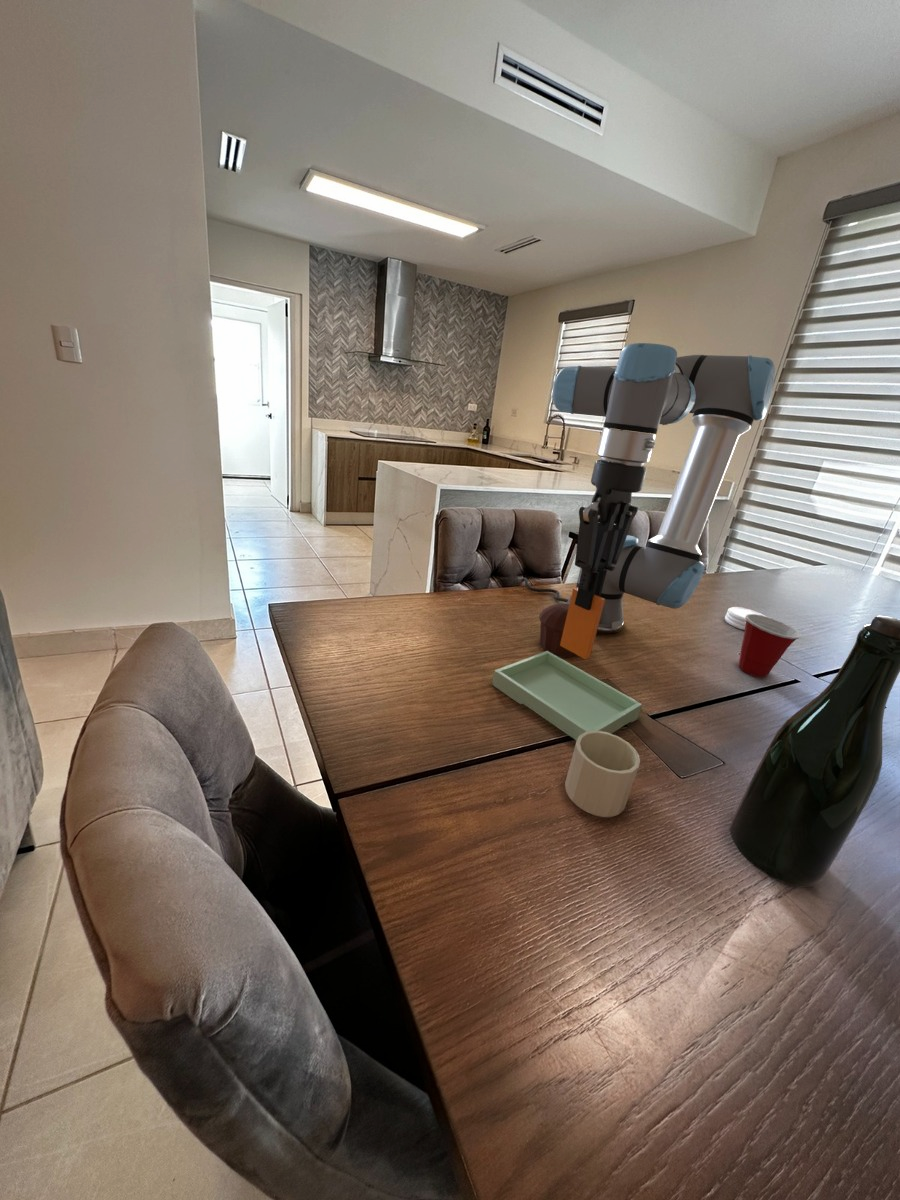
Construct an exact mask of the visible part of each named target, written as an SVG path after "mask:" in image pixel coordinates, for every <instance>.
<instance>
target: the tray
mask: <svg viewBox="0 0 900 1200" xmlns="http://www.w3.org/2000/svg"><path fill="white" fill-rule="evenodd" d="M492 678H493V679H492V681H491V682H492V683H491V686H493V687H495V688H496V689H497V690H499V691H500V692H502V693H503V694H505V695H506V696H508V698H510V699H511V700H513V701H515V702H516V703H518V704H519V705H524V706H526V707H527V708H529V709H530V710H531V711H533V712H534V713H536V714H537V715H539V716H540V717H542V718H543V719H545V720H546V721H547V722H549V723H550V724H552V725H553V726H555V727H557V728H558V729H559V730H560V731H562V732H563V733H565V734H566V735H568V736H569V737H570V738H571V739H574V740H575V742H576V741H577V739H578V737H579V735H581V734H583V733H585V732H588V731H602V732H608V733H611V734H613V733H615V732H616V731H618V730H620V729H621V728H623V727H625V726H626V725H628V724H629V723H634V722H636V721H637V720H638V718H639V716H640V713H641V709H642V707H643V703H641V702H640V701H637V700H635V699H634V698H633V697H630V696H628V695H627V694H625V693H623V692H621V691H620V690H618V689H616V688H614V687H612V686H610V685H609V684H608V683H605V682H604V681H602V680H601V679H598V678H597V677H595V676H593V675H592V674H590V673H588V672H586V671H584V670H583V669H581V668H579V667H577V666H575V665H573V664H571V663H570V662H568V661H566V660H564V659H563V658H561V657H560V656H557V655H554V654H552V653H550V652H549V651H545V650H544V651H543V652H540V653H537V654H534V655H532V656H529V657H527V658H523V659H521V660H519V661H516V662H514V663H511V664H508V665H505V666H502V667H499V668H497V669H495V670H494V672H493V677H492Z"/></svg>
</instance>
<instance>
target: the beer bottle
mask: <svg viewBox="0 0 900 1200" xmlns="http://www.w3.org/2000/svg"><path fill="white" fill-rule="evenodd" d="M899 674H900V619H899V618H895V617H891V616H887V615H876V616H874V618H873V619H871V623H870V624H865V625H863V627H862V628H861V629H860V630H859V632H858V633H857V635H856V639H855V642H854V645H853V646H852V648H851V650H850V652H849V654H848V656H847V658H845V661H844V662H843V664H842V665H841V667H840V669H839V671H838V672H837V674H836V675H835V676H834V678H833V679H832V681H831V682H830V683H829V684H828V685H827V686H826V687H825V688H824V689H823V690H822V692H820V693H819V694H818V695H817V696H816V697H815V698H814V699H812V700H811V701H809V702H808V703H807V704H806V705H804V706H803V707H802V708H800V709H799V710H798V711H796V712H795V713H794V714H793V715H791V716H790V717H789V718H788V719H786V721H785V722H784V723H783V724H782V725H781V727H780V728H779V729H778V730H777V731H776V733H775V734H774V736H773V738H772V740H771V742H770V743H769V745H768V747H767V748H766V750H765V752H764V754H763V756H762V758H761V760H760V761H759V764H758V766H757V768H756V769H755V772H754V773H753V776H752V778H751V780H750V782H749V784H748V786H747V787H746V790H745V791H744V793H743V796H742V798H741V800H740V802H739V803H738V806H737V807H736V810H735V812H734V813H733V816H732V819H731V822H730V824H729V832H730V833H729V834H730V835H731V836H730V837H731V839H732V841H733V843H734V845H735V846H736V848H737V850H738V851H739V852H740V853H741V855H743V856H744V858H745V859H746V860H747V861H749V862H750V863H751V864H752V865H753V866H754V867H756V868H757V869H759V870H760V871H761V872H762V873H765V874H766V875H767V876H769V878H772V879H774V880H776V881H779V882H780V883H783V884H786V885H789V886H794V887H799V888H801V887H802V888H807V887H812V886H813V887H814V886H816V885H818V884H819V883H821V882H822V880H823V879H824V878H825V876H826V875H827V873H829V871H830V869H831V867H832V865H834V862H835V861H836V859H837V857H838V855H839V853H840V852H841V850H842V848H843V847H844V845H845V843H846V841H847V839H848V838H849V836H850V834H851V833H852V831H853V829H854V827H855V825H856V823H858V821H859V818H860V816H861V815H862V813H863V811H864V809H865V808H866V806H867V804H868V802H869V800H870V798H871V796H872V794H873V792H874V790H875V788H876V786H877V784H878V782H879V778H880V774H881V770H882V767H883V727H884V726H883V725H884V723H883V722H884V715H885V709H886V705H887V703H888V701H889V697H890V693H891V691H892V689H893V687H894V685H895V683H896V682H897V681H896V680H897V678H898V676H899Z"/></svg>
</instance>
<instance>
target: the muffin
mask: <svg viewBox="0 0 900 1200" xmlns="http://www.w3.org/2000/svg"><path fill="white" fill-rule="evenodd" d="M568 609H569V604H566V603H565V602H561V603H555V604H551V605H549V606H547V607H545V608H544V609H543V610H542V611H541V612H540V613H539V618H538V619H539V621H540V637H539V638H540V639H539V644H540V646H541V647H542V649H543V650H544V652H545V651H549V652H550V653H552V654H554V655H556V656H557V657H564V658H570V657H575V656H577V655H576V654H575V653H573V652H571V651H569V650H567V649H565V648H564V647H562V646H560V643H561V639H562V635H563V630H564V626H565V622H566V617H567V613H568Z"/></svg>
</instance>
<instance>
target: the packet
mask: <svg viewBox="0 0 900 1200" xmlns="http://www.w3.org/2000/svg"><path fill="white" fill-rule="evenodd" d="M577 592H578V588H576V587H574V588H572V592H571V595H572V596H571V595H570V597H571V600H570V604H569V609H568V613H567V617H566V622H565V626H564V630H563V635H562V639H561V643H560V646H562V647H564V648H565V649H567V650H569V651H571V652H573V653H575V654H576V656H578V657H580V658H582V659H583V660H587V659H589V658H591V654H592V652H593V647H594V644H595V639H596V635H597V634H598V633H597V629H598V625H599V621H600V617H601V614H602V610H603V606H604V602H605V599H604V598H602V597H599V596H597V595H595V594H594V597H593V601H592V605H591V609H590V610H586V609H584V608H582V607H579V606H577V605H575V600H576V596H577Z"/></svg>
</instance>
